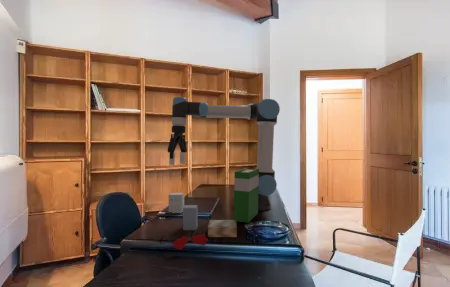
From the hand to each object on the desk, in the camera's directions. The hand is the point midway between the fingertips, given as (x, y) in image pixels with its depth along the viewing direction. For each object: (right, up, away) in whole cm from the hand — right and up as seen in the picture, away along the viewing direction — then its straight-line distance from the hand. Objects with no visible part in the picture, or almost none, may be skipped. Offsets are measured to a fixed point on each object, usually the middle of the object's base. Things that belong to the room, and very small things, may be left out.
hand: (177, 164), depth 162 cm
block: (+10, -28, -26) cm, 39 cm away
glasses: (+10, -28, -45) cm, 54 cm away
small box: (-1, -28, +6) cm, 29 cm away
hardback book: (+37, -26, -11) cm, 47 cm away
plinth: (+25, -28, -33) cm, 50 cm away
